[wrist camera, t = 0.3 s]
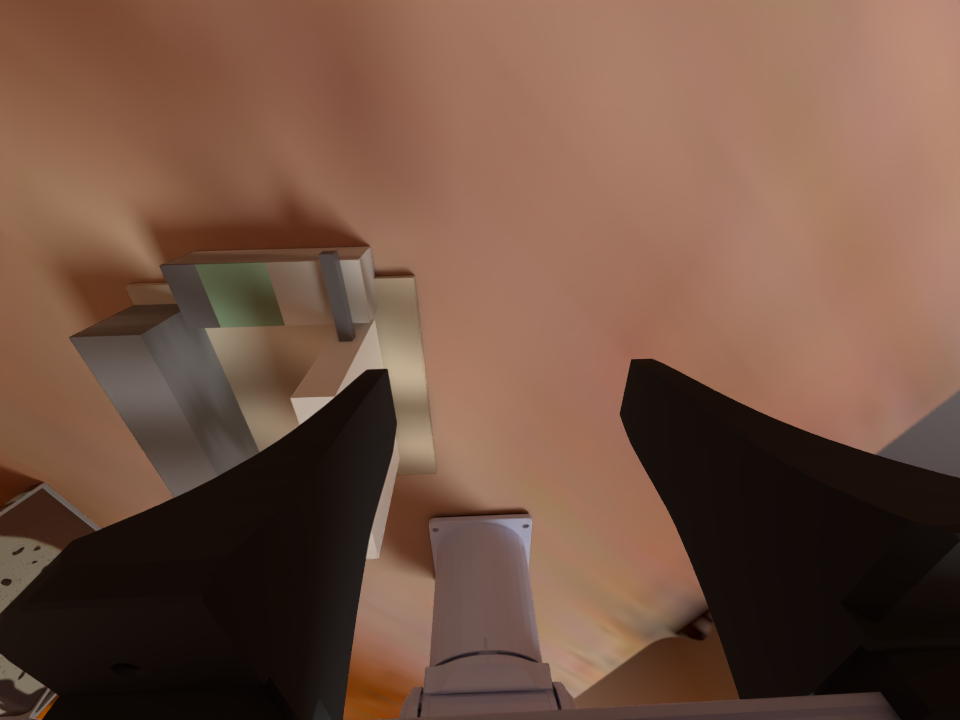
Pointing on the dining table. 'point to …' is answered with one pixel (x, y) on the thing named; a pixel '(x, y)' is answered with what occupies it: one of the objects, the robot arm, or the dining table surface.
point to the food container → (31, 575)
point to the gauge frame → (247, 355)
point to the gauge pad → (345, 376)
